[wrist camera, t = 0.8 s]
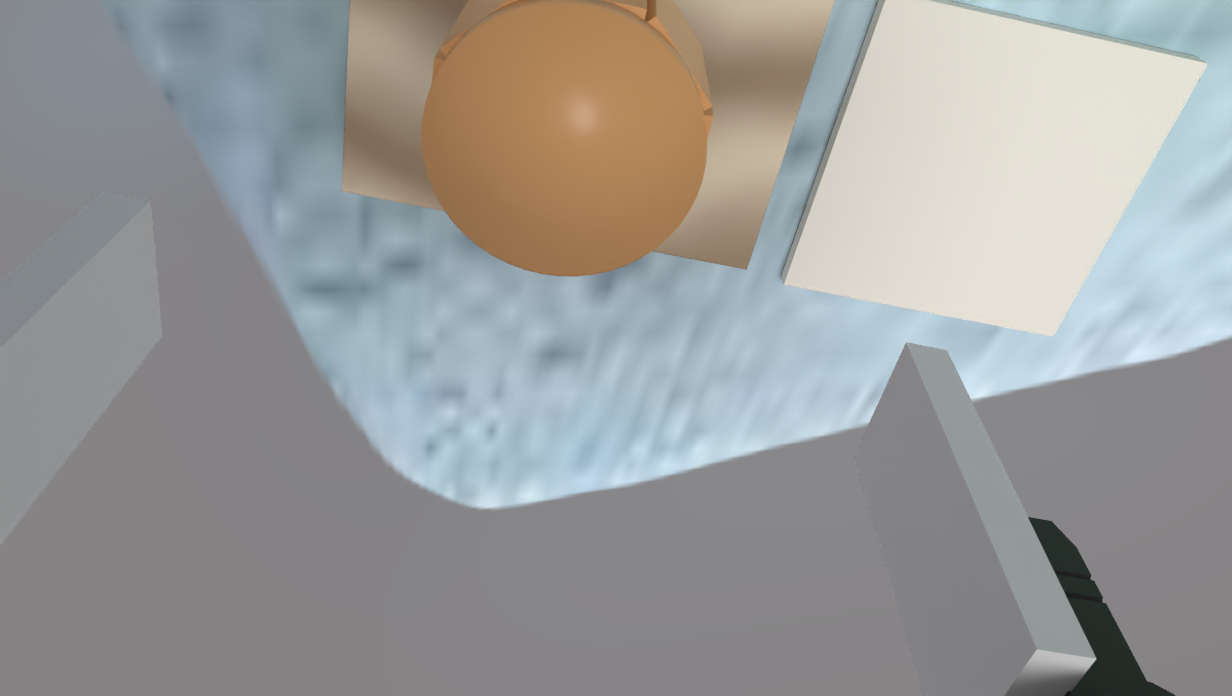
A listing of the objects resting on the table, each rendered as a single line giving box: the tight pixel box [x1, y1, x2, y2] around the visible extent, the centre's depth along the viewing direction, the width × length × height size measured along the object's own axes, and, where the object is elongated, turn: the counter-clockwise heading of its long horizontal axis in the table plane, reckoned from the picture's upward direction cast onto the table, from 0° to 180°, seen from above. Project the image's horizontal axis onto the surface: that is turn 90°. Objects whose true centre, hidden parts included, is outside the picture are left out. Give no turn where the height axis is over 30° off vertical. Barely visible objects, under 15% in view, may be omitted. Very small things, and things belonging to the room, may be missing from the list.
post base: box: [342, 0, 835, 269], centre depth 29 cm, size 16×16×12 cm
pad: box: [781, 0, 1208, 336], centre depth 37 cm, size 12×12×1 cm
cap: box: [421, 0, 714, 276], centre depth 25 cm, size 7×7×6 cm
